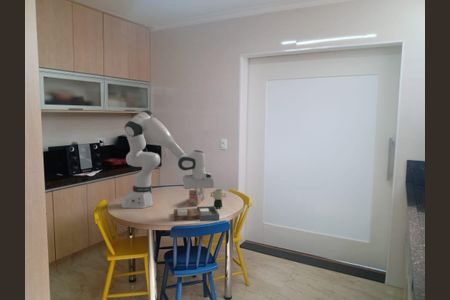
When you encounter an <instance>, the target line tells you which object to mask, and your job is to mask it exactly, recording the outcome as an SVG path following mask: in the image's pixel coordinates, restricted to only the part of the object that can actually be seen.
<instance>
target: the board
mask: <svg viewBox="0 0 450 300" xmlns="http://www.w3.org/2000/svg"><path fill="white" fill-rule="evenodd" d="M177 209H178V208H174V209H173V219H174V222H178V221H179V222H180V221H197V220H198V221H200V214H199V211H198V208H197V207H195V208H194V207H193V208H192V207H191V208H186V209H187V215H181V216H178V214H177Z"/></svg>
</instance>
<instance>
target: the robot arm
mask: <svg viewBox="0 0 450 300" xmlns="http://www.w3.org/2000/svg"><path fill="white" fill-rule="evenodd" d="M124 130H125V135H126V139H127V141H128V145H129V148H130V151H129V152H128V153H127V154H126V155H125V156H126V157H125V161H126V163H127V165H128V166H131V167H136V168H137V167H138V168H139V167H141V170H140V171H139V172H137V173H136V174H135V182H134V183H135V184H133V185H132V191H130V193H128V194H127V195H126V196H125V198H124V201H123V202H122V203H121V208H122V209H124V208H125V209H145V208H147V207H151V206H153V205H154V202H153V196H152V192H153V187H152V175H153V172H154V170H155V169H156V168H157V167H158V166H159V165H160V164H161V157H160V154H158V153H157V152H156V153H155V152H152V151H143V150H145V148H146V145H147V141H146V139H145V135H144V133H147V135H149V137H150V138H151V139H153V141H154V142H156V144H158V145H159V146H160V147H164V148H167V150H169V151H170V152H171V154H173V156H174V157H175V158H176V159H177V166H178V167H179V169H180V170H182V171H190V170H191V174H185V175H184V176H183V177H182V181H183V184H182V185H183V189H184V190H190V189H195V191H196V190H197V189H200V192H197V191H196V195H201V192H202V190H203V188H204V189H213V188H214V187H215V182H214V179H213V174H212V173H211V172H207V171H206V167H205V166H206V155H205V154H206V153H205V152H203V151H202V150H198V149H197V150H196V149H195V150H193V151H191V152H190V153H188V152H185V151H184V150H183V149H182V148H181V147H180V146H179V145H178V144H177V143H176V141H175V140H174V137H173V136H172V134H171V133H170V131H169V130H168V129H167V127H166V126H165V125H164V124H163V123H162V122H161V121H160V120H159V119H157V118H156V117H155V115H154V114H153V113H152V112H151V111H150V110H148V109H145V110H142V111H141V112H139V113H138V114H136V115H134V116H133V117H132V118H130V120H129V121H127V122H126V123H125V125H124Z"/></svg>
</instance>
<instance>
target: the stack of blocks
mask: <svg viewBox="0 0 450 300" xmlns="http://www.w3.org/2000/svg"><path fill="white" fill-rule="evenodd" d="M188 191H189V193H188V196H189V197H188V199H189V201H188V203H189V205H188V206H189V207H199V205H200V204H201V203H202V202H203V201H204V200H205V188H203V190H202V192H201V195H196V191H197V192H200V189H197V190H196V191H195V189H188Z"/></svg>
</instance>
